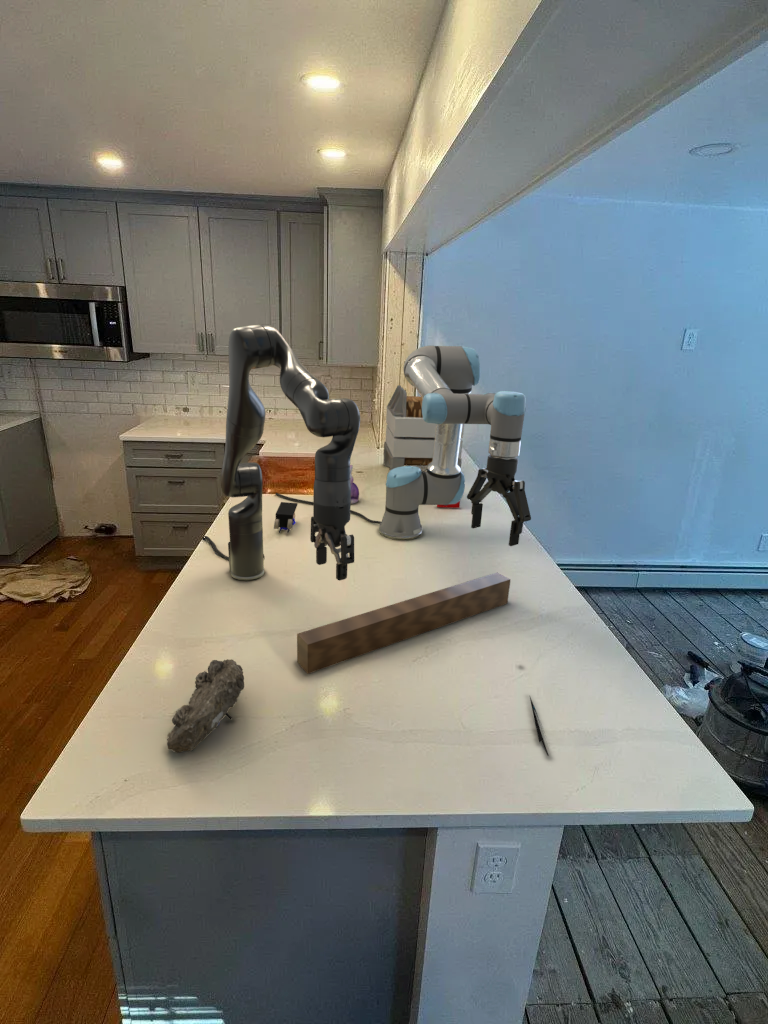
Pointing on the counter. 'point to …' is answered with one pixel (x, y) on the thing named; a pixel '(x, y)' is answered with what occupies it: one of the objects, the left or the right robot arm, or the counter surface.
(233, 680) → the fossil
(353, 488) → the figurine
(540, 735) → the feather
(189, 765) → the counter surface
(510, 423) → the right robot arm
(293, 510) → the figurine character
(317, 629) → the bar
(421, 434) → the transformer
